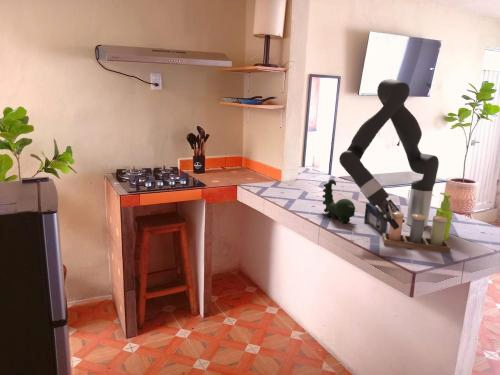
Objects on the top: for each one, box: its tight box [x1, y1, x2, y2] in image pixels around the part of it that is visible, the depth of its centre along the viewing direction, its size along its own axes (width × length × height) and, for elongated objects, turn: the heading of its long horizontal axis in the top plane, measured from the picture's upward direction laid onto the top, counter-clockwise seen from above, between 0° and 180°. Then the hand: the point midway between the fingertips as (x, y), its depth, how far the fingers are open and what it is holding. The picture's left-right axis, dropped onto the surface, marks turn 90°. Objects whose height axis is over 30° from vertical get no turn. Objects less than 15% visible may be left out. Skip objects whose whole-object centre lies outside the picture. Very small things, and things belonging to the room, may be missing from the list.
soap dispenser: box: [435, 192, 454, 241], centre depth 158 cm, size 6×7×20 cm
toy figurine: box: [321, 178, 356, 224], centre depth 182 cm, size 9×19×25 cm
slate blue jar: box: [408, 214, 426, 244], centre depth 149 cm, size 5×5×12 cm
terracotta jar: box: [388, 211, 405, 241], centre depth 150 cm, size 5×5×12 cm
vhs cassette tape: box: [363, 202, 388, 235], centre depth 169 cm, size 18×3×10 cm, turn 4°
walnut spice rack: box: [381, 232, 452, 254], centre depth 150 cm, size 8×24×4 cm, turn 76°
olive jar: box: [429, 215, 447, 246], centre depth 147 cm, size 5×5×12 cm
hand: (400, 225), depth 149 cm, fingers open, 8 cm apart
